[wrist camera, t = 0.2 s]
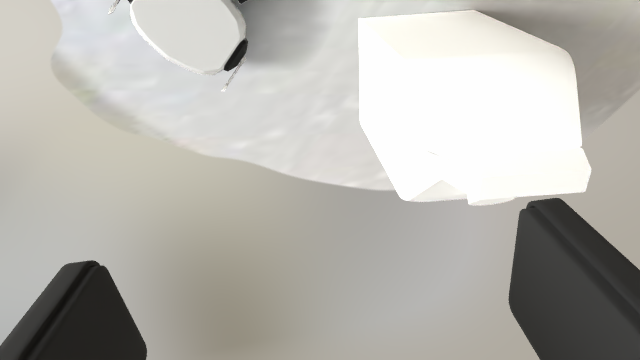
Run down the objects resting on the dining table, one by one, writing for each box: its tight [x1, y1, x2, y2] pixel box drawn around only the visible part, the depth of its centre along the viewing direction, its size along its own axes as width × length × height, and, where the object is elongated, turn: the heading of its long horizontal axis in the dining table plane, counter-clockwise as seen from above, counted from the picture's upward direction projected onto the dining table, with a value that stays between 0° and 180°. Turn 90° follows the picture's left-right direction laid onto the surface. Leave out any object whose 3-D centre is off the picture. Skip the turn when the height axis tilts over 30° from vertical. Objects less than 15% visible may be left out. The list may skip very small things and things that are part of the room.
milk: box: [359, 10, 591, 205], centre depth 33 cm, size 12×12×26 cm
